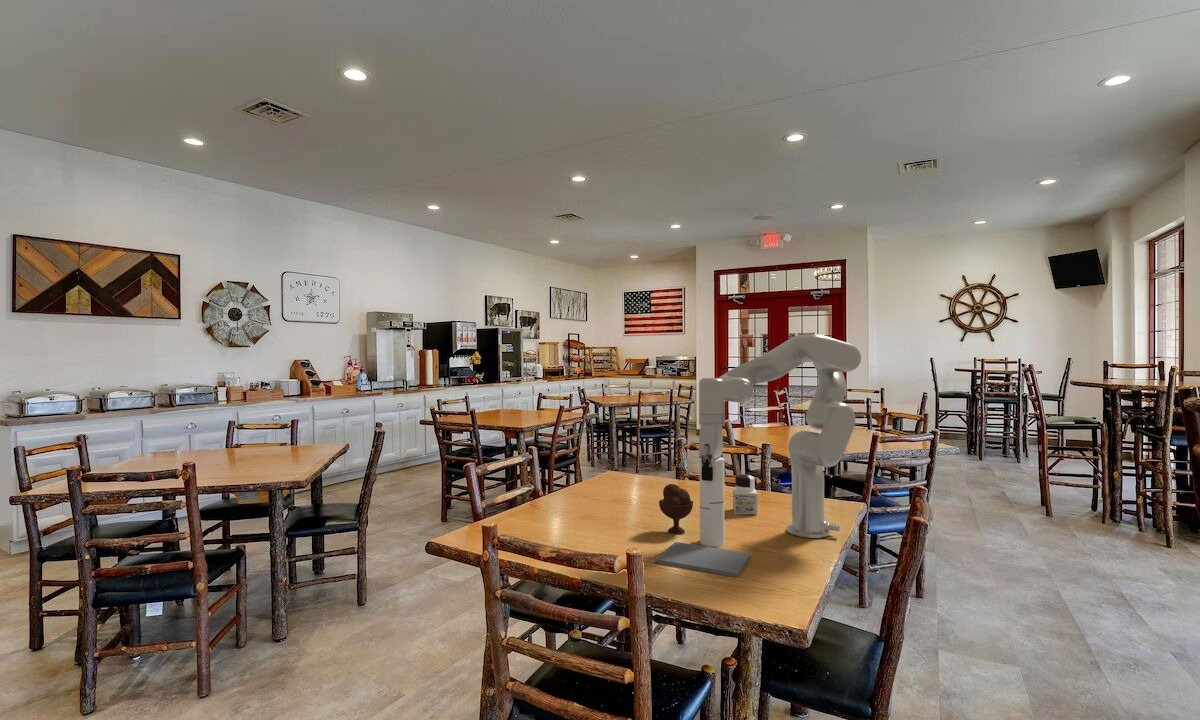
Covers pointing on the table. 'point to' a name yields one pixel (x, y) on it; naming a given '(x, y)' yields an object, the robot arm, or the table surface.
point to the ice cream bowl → (675, 506)
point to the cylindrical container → (712, 506)
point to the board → (704, 558)
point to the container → (744, 495)
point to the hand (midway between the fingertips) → (711, 477)
